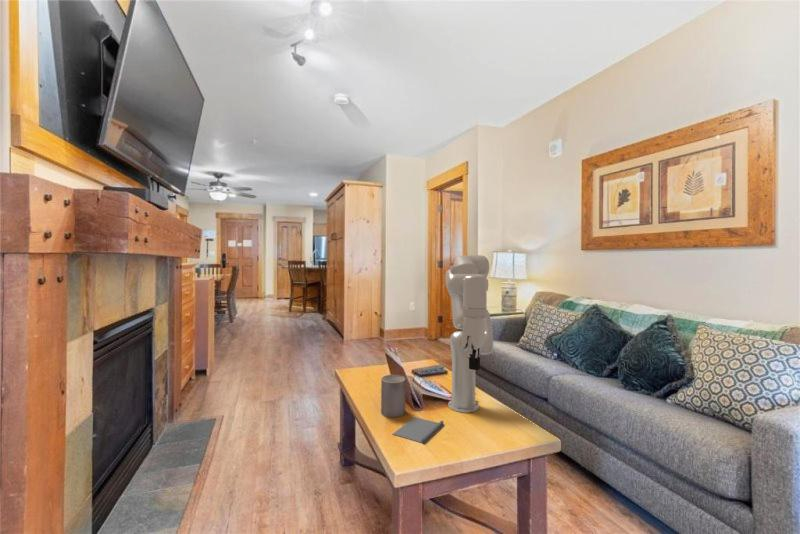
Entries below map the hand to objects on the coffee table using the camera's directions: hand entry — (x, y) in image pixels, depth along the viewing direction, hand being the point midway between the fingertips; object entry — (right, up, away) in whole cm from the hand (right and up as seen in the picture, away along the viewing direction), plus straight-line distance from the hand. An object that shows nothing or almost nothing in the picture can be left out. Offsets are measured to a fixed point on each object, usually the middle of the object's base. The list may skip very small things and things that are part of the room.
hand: (474, 369), depth 115 cm
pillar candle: (-27, -25, +25) cm, 45 cm away
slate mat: (-17, -25, +10) cm, 32 cm away
